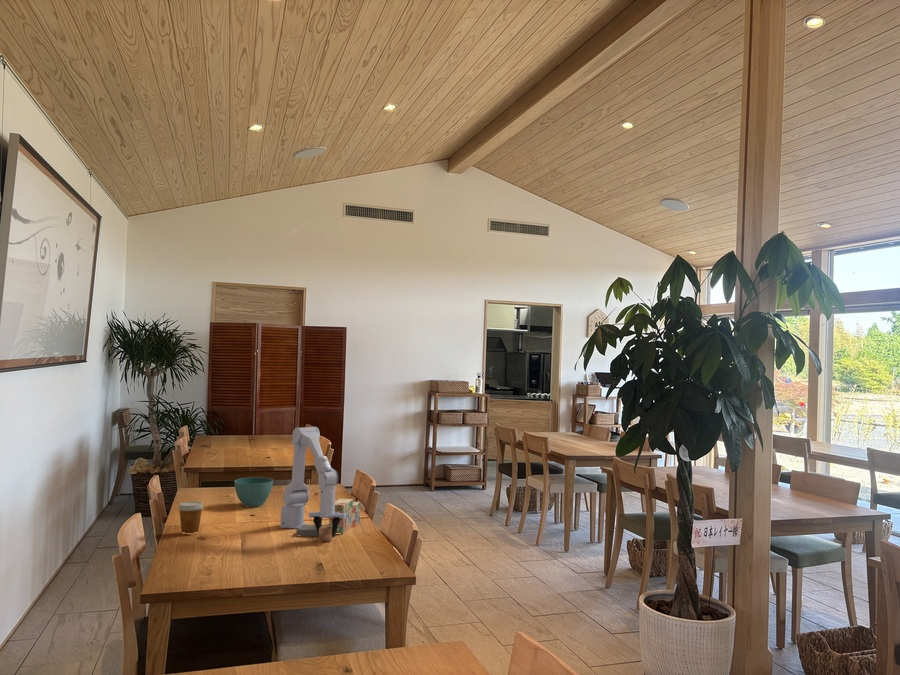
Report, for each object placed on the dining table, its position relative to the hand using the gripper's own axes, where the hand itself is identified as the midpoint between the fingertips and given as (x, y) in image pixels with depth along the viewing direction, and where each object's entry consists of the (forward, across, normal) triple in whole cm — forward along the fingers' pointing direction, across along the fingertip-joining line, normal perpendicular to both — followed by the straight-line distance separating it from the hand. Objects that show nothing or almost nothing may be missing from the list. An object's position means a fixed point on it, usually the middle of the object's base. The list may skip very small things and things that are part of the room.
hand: (326, 536), depth 265 cm
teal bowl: (+2, -52, +58) cm, 78 cm away
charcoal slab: (+2, -9, +9) cm, 13 cm away
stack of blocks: (+2, +2, +20) cm, 21 cm away
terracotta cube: (+1, 0, 0) cm, 1 cm away
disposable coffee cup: (+2, -57, +2) cm, 57 cm away
